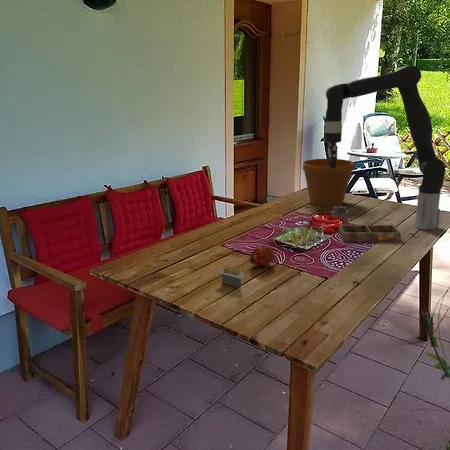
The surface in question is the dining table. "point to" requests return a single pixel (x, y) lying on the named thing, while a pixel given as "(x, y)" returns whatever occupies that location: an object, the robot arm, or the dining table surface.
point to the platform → (231, 276)
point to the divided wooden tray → (369, 233)
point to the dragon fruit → (262, 256)
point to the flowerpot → (327, 181)
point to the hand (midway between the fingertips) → (331, 167)
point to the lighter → (340, 214)
